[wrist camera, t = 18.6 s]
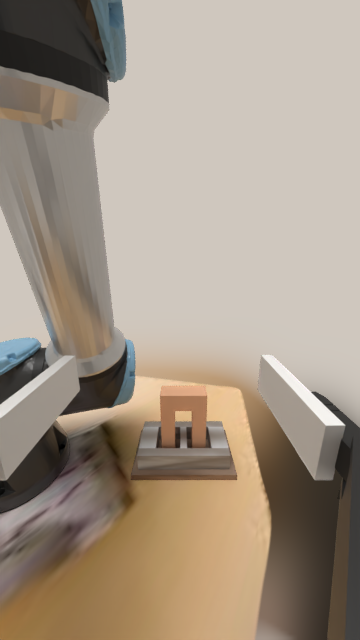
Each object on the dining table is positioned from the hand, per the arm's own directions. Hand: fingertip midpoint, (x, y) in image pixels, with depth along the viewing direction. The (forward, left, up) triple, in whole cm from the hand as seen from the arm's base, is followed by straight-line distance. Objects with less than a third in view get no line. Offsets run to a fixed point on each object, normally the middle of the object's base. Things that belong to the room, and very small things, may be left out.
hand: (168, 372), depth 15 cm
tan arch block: (-8, +17, -27) cm, 33 cm away
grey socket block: (-8, +17, -28) cm, 34 cm away
